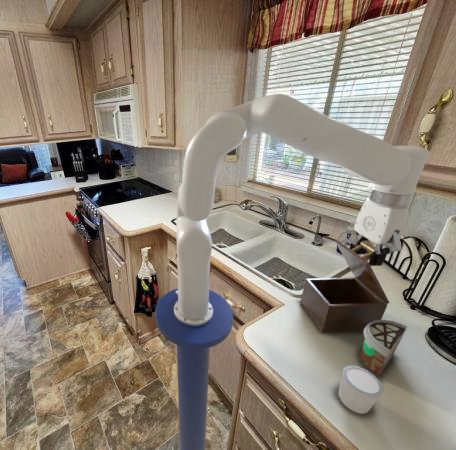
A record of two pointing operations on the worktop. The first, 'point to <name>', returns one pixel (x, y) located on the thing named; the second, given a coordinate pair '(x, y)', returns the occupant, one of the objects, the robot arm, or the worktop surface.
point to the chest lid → (363, 267)
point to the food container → (380, 343)
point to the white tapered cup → (359, 389)
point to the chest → (341, 304)
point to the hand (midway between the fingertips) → (367, 258)
